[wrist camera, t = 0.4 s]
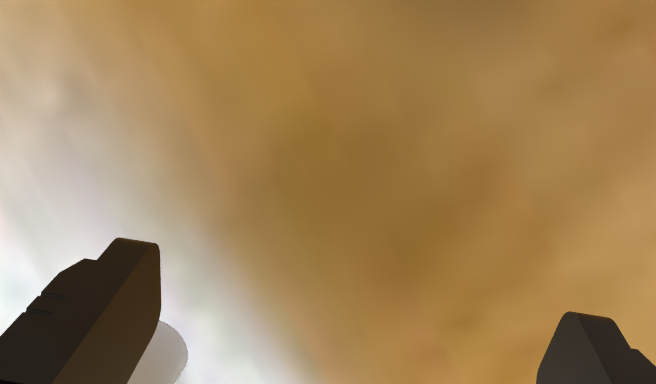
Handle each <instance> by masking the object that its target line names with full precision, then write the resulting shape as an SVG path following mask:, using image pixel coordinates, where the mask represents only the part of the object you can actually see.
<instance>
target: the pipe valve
mask: <svg viewBox="0 0 656 384" xmlns="http://www.w3.org/2000/svg"><path fill="white" fill-rule="evenodd" d="M187 359H188V352H187V347H186V344H185V342H184V340H183V339H182V337H181V336H180V335H179V333H178V332H177V331H176V330H174V329H173V328H172V327H171V326H169V325H168V324H166V323H164V322H162V321H158V325H157V328H156V331H155V333H154V335H153V337H152V339H151V341H150V343H149V344H148V346H147V348H146V350H145V352H144V354H143V355H142V357H141V359H140V361H139V363H138V364H137V366H136V368H135V370H134V372H133V374H132V375H131V377H130V379H129V381H128V383H127V384H174V383H175V382H176V380H177V378H178V377H179V375H180V373H181V372H182V370H183V369H184V367H185V365H186V363H187Z"/></svg>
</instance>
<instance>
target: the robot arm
mask: <svg viewBox="0 0 656 384" xmlns="http://www.w3.org/2000/svg"><path fill="white" fill-rule="evenodd" d="M160 311H161V277H160V250H159V246H158V245H157V244H156V243H150V242H144V241H138V240H132V239H125V238H116V239H115V240H114V241H113V242H112V243H111V244H110V245H109V246H108V248H107V249H106V250H105V251H104V252H103V253H102V255H101V256H100V257H99V258H98V259H97V260H91V259H83V260H81V261H79V262H78V263H76V264H74V265H72V266H70V267H69V268H67V269H65V270H63V271H62V272H60V273H59V274H58V275H57V276H56V277H55V278H54V279H53V280H52V281H51V282H50V283H49V284H48V285H47V287H46V288H45V289H44V290H43V291H42V292H41V296H37V297H36V298H35V300H34V301H33V302H32V303H31V304H30V305H29V306H28V307H27V309H26V312H25V313H24V312H23V313H22V314H21V315H20V316H19V317H18V318H17V319H16V320H15V321H14V322H13V323H12V324H11V326H10V327H9V328H8V329H7V330H6V331H5V332H4V333H3V334H2V335H1V336H0V384H127V383H128V381H129V379H130V377H131V375H132V374H133V372H134V370H135V368H136V366H137V364H138V363H139V361H140V359H141V357H142V355H143V354H144V352H145V350H146V348H147V346H148V344H149V343H150V341H151V339H152V337H153V335H154V333H155V331H156V328H157V325H158V321H159V317H160ZM536 384H656V366H655V365H653V364H652V363H651V362H650V361H649V360H648V359H647V358H646V357H645V356H644V355H643V354H642V353H641V352H640V351H639V350H637V349H631V348H630V346H629V345H628V343H627V341H626V340H625V338H624V336H623V335H622V333H621V331H620V330H619V328H618V326H617V325H616V323H615V322H614V321H613V320H612V319H610V318H607V317H601V316H595V315H589V314H583V313H576V312H567V313H565V314H564V315H563V317H562V318H561V320H560V322H559V324H558V326H557V329H556V331H555V333H554V335H553V337H552V340H551V342H550V344H549V346H548V349H547V351H546V353H545V355H544V357H543V360H542V362H541V364H540V366H539V369H538V373H537V380H536Z"/></svg>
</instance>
